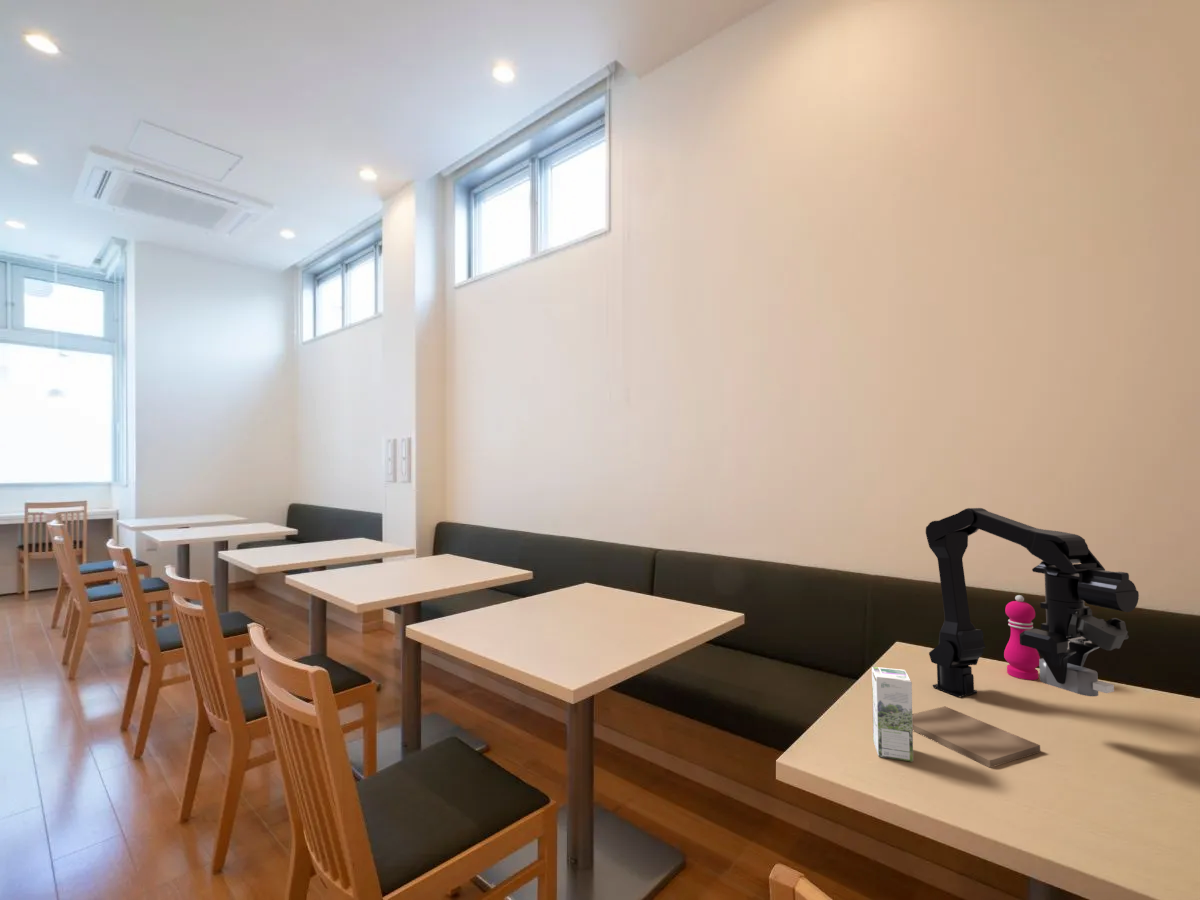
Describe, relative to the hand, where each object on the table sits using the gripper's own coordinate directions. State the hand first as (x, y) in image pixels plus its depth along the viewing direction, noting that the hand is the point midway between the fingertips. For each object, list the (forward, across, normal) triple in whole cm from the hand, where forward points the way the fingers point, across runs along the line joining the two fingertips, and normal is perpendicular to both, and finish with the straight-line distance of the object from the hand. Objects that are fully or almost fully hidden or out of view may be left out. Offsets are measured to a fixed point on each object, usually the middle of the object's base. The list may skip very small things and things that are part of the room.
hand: (1067, 681), depth 104 cm
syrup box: (+11, -35, +10) cm, 38 cm away
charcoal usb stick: (+1, 0, 0) cm, 1 cm away
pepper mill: (+11, +28, +24) cm, 38 cm away
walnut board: (+11, -18, +8) cm, 22 cm away
